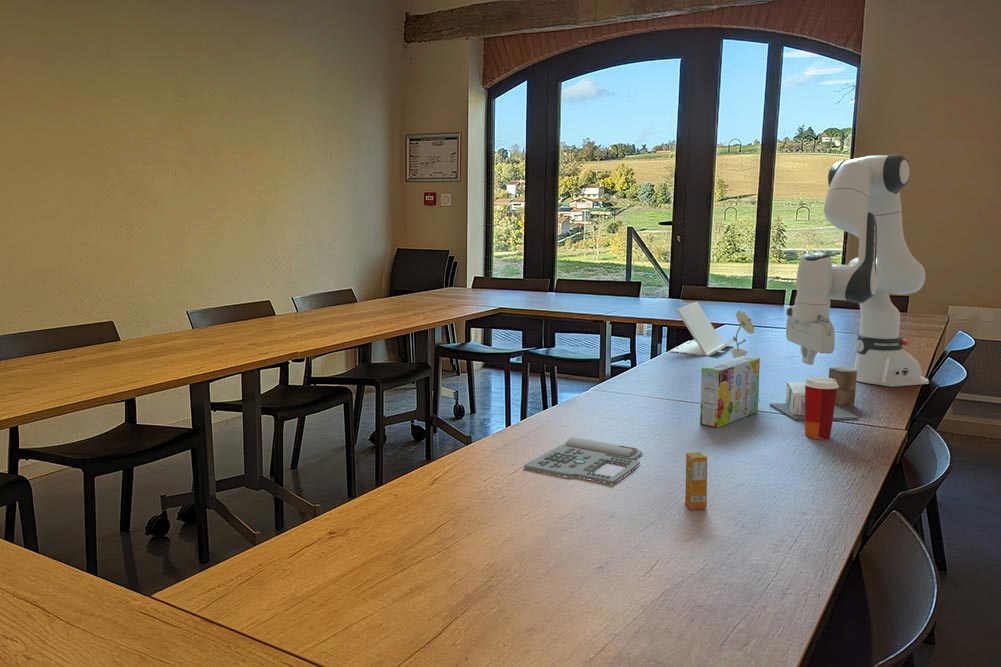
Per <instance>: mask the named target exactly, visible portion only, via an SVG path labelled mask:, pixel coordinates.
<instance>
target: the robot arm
mask: <svg viewBox="0 0 1001 667" xmlns="http://www.w3.org/2000/svg"><path fill="white" fill-rule="evenodd" d="M909 178H910V164H909V161H908V159H907V158H906V157H905V156H904V155H902V154H895V153H894V154H893V153H890V154H888V155H887V154H885V155H884V154H880V155H879V154H878V155H877V154H876V155H874V154H873V155H866V156H862V157H858V158H857V157H856V158H852V159H842V160H840V161H837V162H835V163H834V164H833V165H832V166H831V167H830V168H829V170H828V174H827V183H828V190H827V193H826V197H825V200H824V205H823V213H824V216H825V218H826V220H827V221H828V222H829V223H830V224H831V225H832V226H833V227H835V228H837V229H839V230H840V231H843V232H847V233H849V234H851V235H854V236H855V237H857V238H858V256H857V257H855V258H853V259H851V260H849V263H848V264H837V263H836V264H835V263H832V262H833V260H832V256H831V254H830V253H827V252H824V251H813V252H812V251H811V252H806V253H805V254H802V255H801V257H800V259H799V263H798V267H797V272H796V282H795V286H796V287H795V288H796V296H795V299H794V304H793V305H791V306H789V307H787V308H786V309H785V315H786V316H787V318H786V323H785V324H786V326H785V335H786V339H787V341H788V342H790V343H793V344H795V345H798V346H800V352H801V356H802V363H803V364H806V365H809V366H813V365H814V364H815V357H816V356H817V354H818V353H819V354H833V353H834V351H835V345H836V344H835V343H836V338H835V337H836V332H835V327H834V326H833V323H832V321H831V319H830V311H831V300H836V301H837V300H838V301H847V302H849V303H850V302H851V303H857V304H858V305H859V308H860V309H859V310H860V311H859V312H860V315H859V316H860V320H859V333H858V335H857V339H856V357H855V360H854V366H853V368H852V369H853V370H857V379H856V382H860V383H863V384H864V383H865V384H872V385H879V386H886V387H891V388H892V387H904V386H905V387H907V386H917V385H928V384H930V382H929V381H930V380H929V379H928V378H927V377H924V376H923V375H922V368H921V363H920V362H919V361H918V360H917V359H915V358H914V357H913V356H912V355H911V354H910V353H908V352H907V351H906V350H904V346H906V347H909V346H910V344H911V341H910V339H907V338H903V339H902V338H901V337H900V336H899V334H900V333H899V332H900V324H901V323H900V322H901V313H900V310H899V309H898V308H897V307H896V306H895V305H894V304H893V303H892V300H891V297H890V294H892V295H893V294H894V295H907V294H908V295H909V294H910V295H911V294H915V293H917V292H918V291H920V290H921V288H923V285H924V284H925V283H926V282H925V281H926V278H927V277H926V270H925V267H924V266H923V264H921V263H920V262H919V261H918V260H917V259H916V258H915V257H914V256H913V254H912V253H911V251H910V249H909V247H908V245H907V242H906V239H905V236H904V227H903V214H902V213H903V212H902V210H903V209H902V200H901V193H900V191H901V190H902V189H904V188H905V186H907V185H906V184H908V181H909Z"/></svg>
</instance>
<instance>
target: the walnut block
mask: <svg viewBox="0 0 1001 667" xmlns="http://www.w3.org/2000/svg"><path fill="white" fill-rule="evenodd" d="M828 370H829V371H828V378H832V379H835V380H836V381H837V383H838V385H839V388H837V394H836V401H835V406H837V407H839V408H846V407H855V400H856V390H857V381H856V379H857V370H853V368H850V367H846V366H838V367H829V369H828Z"/></svg>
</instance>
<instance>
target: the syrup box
mask: <svg viewBox="0 0 1001 667" xmlns="http://www.w3.org/2000/svg"><path fill="white" fill-rule="evenodd" d="M803 383H804V382H797V381H796V382H794V381H786V392H785V394H786V395H785V403H787V405H788V407H789V409H790V411H791V413H792V414H793V415H805V385H804V384H803Z"/></svg>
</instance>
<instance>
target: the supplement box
mask: <svg viewBox="0 0 1001 667" xmlns="http://www.w3.org/2000/svg"><path fill="white" fill-rule="evenodd" d="M685 457H686V458H685V495H684V498H685V502H684V504H685V505H686V506H687V507H688V509H689V508H690V509H698V510H707V506H708V505H707V501H708V500H707V499H708V498H707V497H708V457H707V456H706V455H704V453H703V452H702V451H697V452H686V453H685ZM690 509H689V510H690Z"/></svg>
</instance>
